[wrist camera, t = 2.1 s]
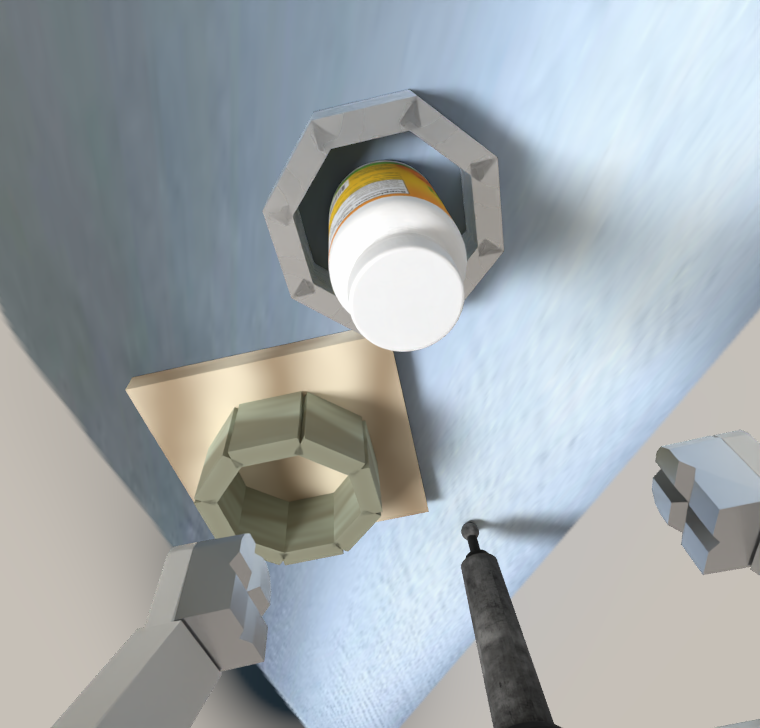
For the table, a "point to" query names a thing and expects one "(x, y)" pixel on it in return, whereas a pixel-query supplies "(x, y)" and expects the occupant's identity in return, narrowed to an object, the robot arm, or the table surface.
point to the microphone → (501, 644)
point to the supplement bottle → (395, 257)
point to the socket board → (289, 443)
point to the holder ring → (363, 125)
